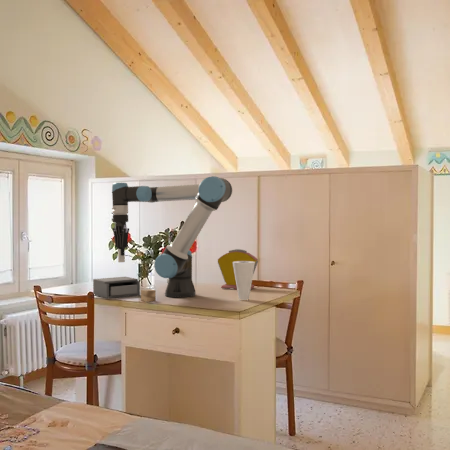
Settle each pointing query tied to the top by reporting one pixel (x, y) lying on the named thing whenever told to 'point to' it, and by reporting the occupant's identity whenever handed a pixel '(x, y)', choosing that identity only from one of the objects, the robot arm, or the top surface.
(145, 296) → the pedestal
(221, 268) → the yellow arched part
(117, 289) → the tray
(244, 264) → the cup
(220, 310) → the top surface
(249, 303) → the top surface
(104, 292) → the housing
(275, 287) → the top surface
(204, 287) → the top surface
